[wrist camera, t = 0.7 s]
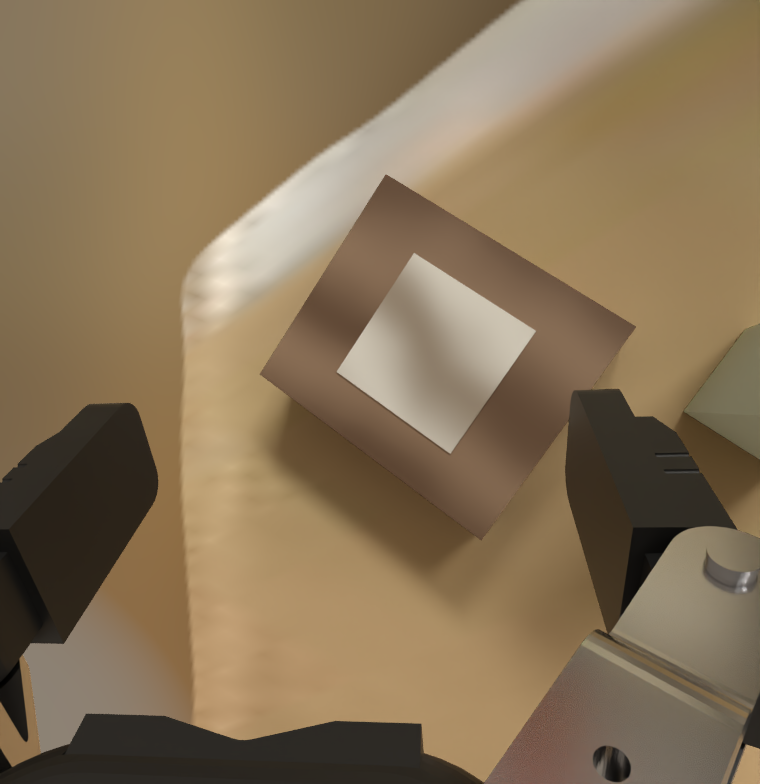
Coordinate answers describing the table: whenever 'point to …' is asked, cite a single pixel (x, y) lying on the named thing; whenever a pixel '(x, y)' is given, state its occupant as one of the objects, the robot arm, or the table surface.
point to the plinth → (443, 354)
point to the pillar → (734, 394)
